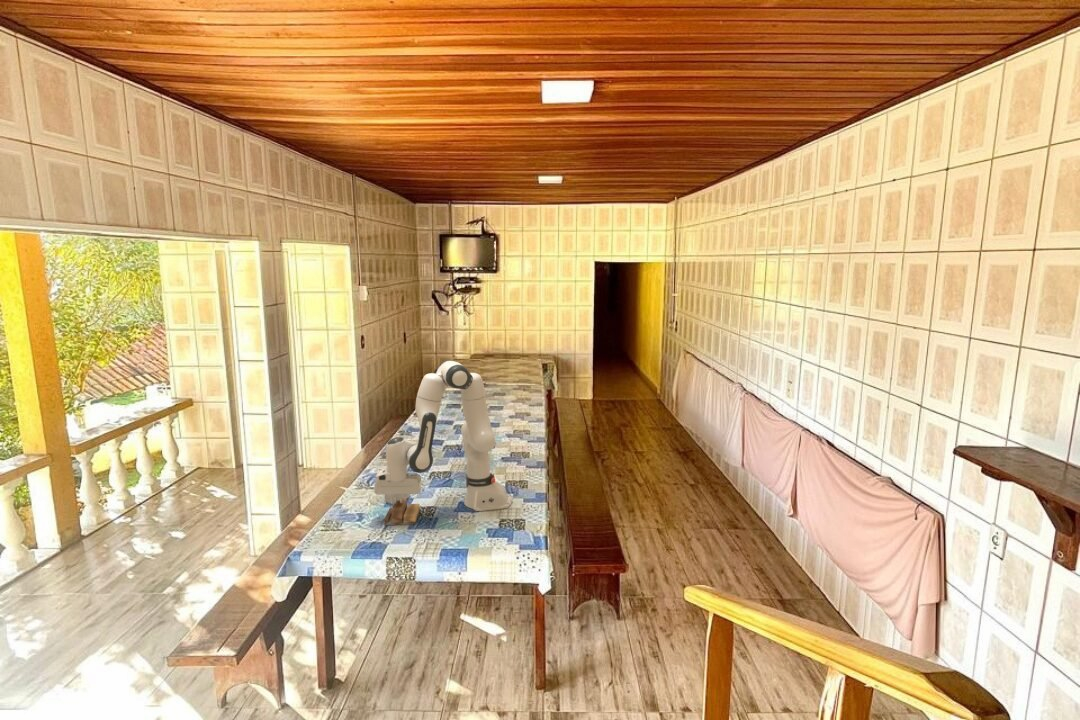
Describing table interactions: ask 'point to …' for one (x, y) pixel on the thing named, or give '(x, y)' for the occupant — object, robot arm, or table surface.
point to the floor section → (405, 515)
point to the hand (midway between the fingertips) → (398, 502)
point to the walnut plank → (399, 511)
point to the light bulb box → (390, 499)
